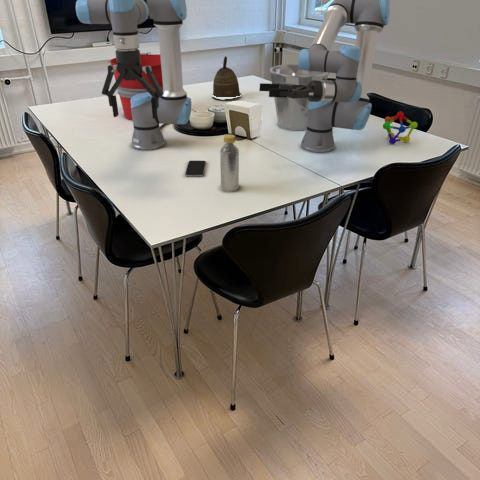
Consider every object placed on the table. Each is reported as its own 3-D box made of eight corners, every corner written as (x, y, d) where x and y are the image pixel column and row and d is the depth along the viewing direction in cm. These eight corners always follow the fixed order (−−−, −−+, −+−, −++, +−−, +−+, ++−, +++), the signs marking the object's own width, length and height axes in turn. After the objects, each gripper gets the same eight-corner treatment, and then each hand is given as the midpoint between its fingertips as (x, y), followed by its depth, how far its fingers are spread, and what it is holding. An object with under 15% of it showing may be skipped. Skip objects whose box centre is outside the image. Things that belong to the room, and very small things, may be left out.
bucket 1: (123, 105, 263) (116, 51, 247) (182, 106, 262) (179, 52, 247) (107, 123, 234) (97, 63, 218) (173, 124, 233) (168, 64, 217)
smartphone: (184, 174, 176) (189, 160, 189) (184, 176, 176) (189, 161, 189) (203, 175, 176) (206, 160, 188) (203, 176, 176) (206, 162, 189)
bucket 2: (296, 138, 215) (301, 78, 201) (255, 124, 234) (256, 68, 219) (335, 125, 232) (342, 70, 217) (294, 113, 251) (297, 61, 236)
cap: (237, 141, 158) (237, 136, 157) (229, 144, 156) (229, 138, 155) (229, 139, 160) (229, 133, 159) (221, 141, 158) (221, 136, 157)
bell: (227, 105, 294) (202, 96, 282) (238, 66, 289) (213, 55, 277) (243, 108, 280) (217, 98, 268) (255, 66, 275) (229, 55, 263)
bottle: (242, 188, 167) (242, 137, 157) (229, 193, 163) (229, 141, 153) (230, 182, 172) (229, 133, 161) (217, 187, 168) (216, 137, 157)
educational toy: (377, 146, 209) (379, 114, 202) (384, 138, 219) (386, 107, 211) (411, 149, 202) (415, 116, 195) (417, 141, 212) (420, 109, 204)
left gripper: (84, 50, 136) (95, 118, 148) (163, 52, 134) (168, 121, 145) (93, 46, 143) (104, 112, 154) (169, 48, 140) (174, 114, 152)
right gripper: (331, 107, 154) (272, 107, 150) (307, 96, 176) (255, 95, 172) (334, 85, 151) (274, 83, 147) (309, 76, 173) (257, 74, 168)
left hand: (135, 116), depth 150 cm, fingers open, 13 cm apart
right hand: (264, 89), depth 159 cm, fingers open, 13 cm apart
